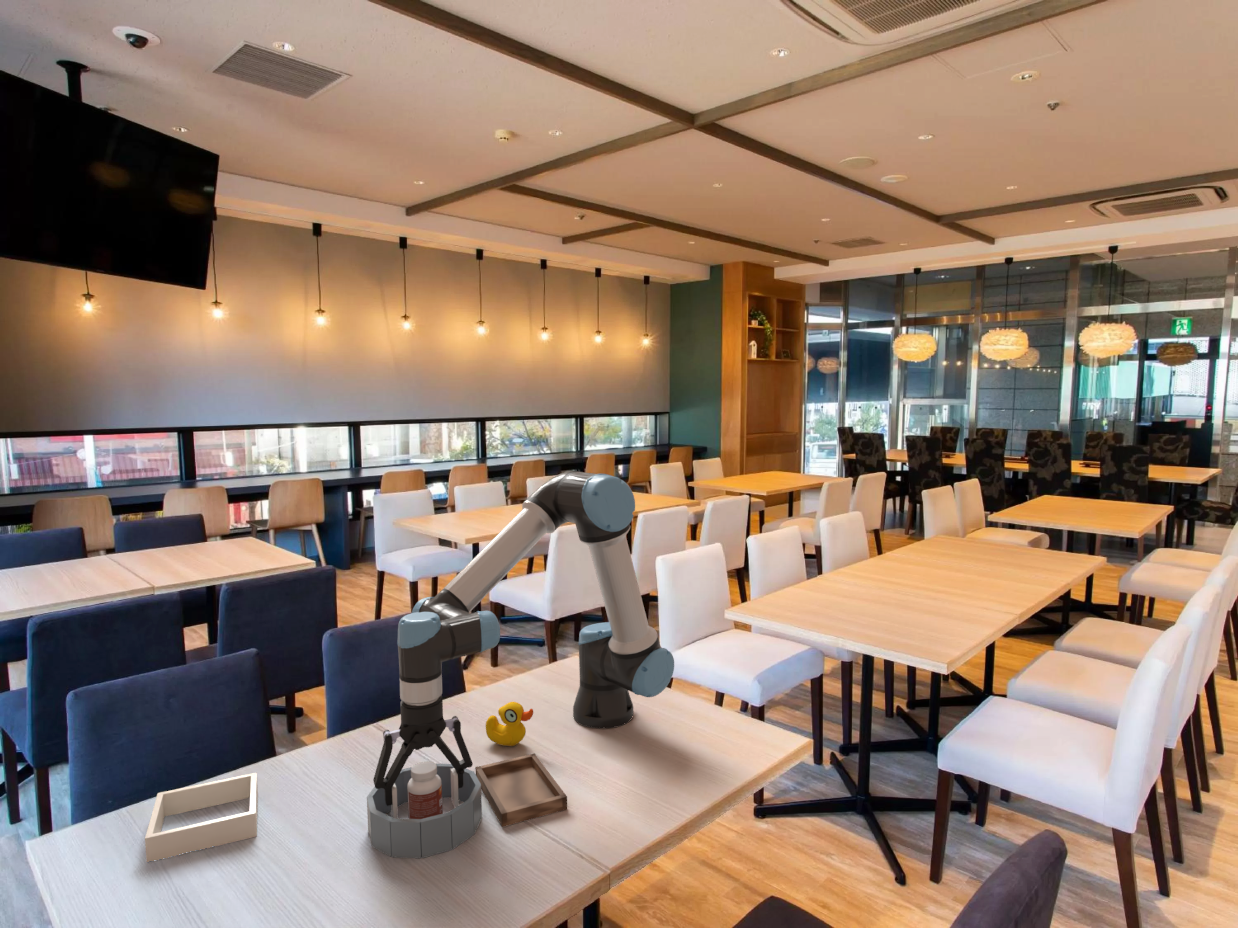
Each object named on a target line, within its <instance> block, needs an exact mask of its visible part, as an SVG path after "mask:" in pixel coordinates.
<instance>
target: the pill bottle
mask: <svg viewBox="0 0 1238 928" xmlns="http://www.w3.org/2000/svg"><path fill="white" fill-rule="evenodd" d="M436 764H437V763H435V762H434V761H421V762H418V763H417V762H416V763H415V764H414V765H413V766H411V767H412V768H411V779H410V780H409V782H408V785H407V791H408V802H407V809H408V811H407V813H408V815H407V816H408V819H423V818H427V817H431V816H435V815H439V814H443V813H444V811H443V797H442V784H441V778H440V777H439V776H438V775H437V765H436Z"/></svg>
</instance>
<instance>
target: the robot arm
mask: <svg viewBox="0 0 1238 928" xmlns="http://www.w3.org/2000/svg"><path fill="white" fill-rule="evenodd" d="M521 507H522V509H521V510H520V511H519V512H518V514H517V515H515V517H514V518H512V520H510V522H509V523H507V524H506V526H505V527H503V528H502V529H501V531H500V532H499V533H498V534H496V536H495V537H494V538H492V540H490V541H489V542H488V544H486V545H485V546H484V547H483V549H482V550H480V552H478V553H477V555H475V556H474V557H473V559H472V560H471V561H469V562H468V563H467V564H466V565H465V566H464V567H463V568H462V569H461V570H460V571H459V572H458V573H457V574H456V576H454V577H453V579H451V580H450V581H449V582H448V584H446V585H445V586H444V587H443V588H442V589H441V590H440V591H439V592H438V593H437V594H436V595H435V596H427V597H426V596H425V597H423V598H421V599H419V600H418V601H417V602H416V603H415V605H414V606H413V608H412V611H411V613H407V614H405V615H404V616H402V617H401V618H400V619H399V622H398V625H397V642H396V644H397V645H396V646H397V651H398V665H399V666H398V669H399V671H398V672H399V674H398V675H399V696H400V697H399V699H400V700H401V701H400V704H399V705H400V707H399V708H400V726H399V728H398V729H395V730H389V729H385V730H383V732H382V735H383V743H382V744H383V745H382V748H381V752H380V755H379V760H378V762H377V765H376V770H375V772H374V776H373V785H374V787H375V788H376V789H380V788H383V789H384V793H385V802H386V805H387V806H389V805H391V811H390V812H391V813H390V814H391V817H392V818H399V815H398V814H399V811H398V810H399V808H398V807H397V788H396V785H395V781H396V779H397V778H398V776H399V774H400V772H401V770H402V769H404V766H405V764H406V763H407V761H408V759H409V757H410V756H411V755H412V753H413V752H414V750H415V751H417V750H421V749H423V748H432V747H433V746H434V745H435V746H436V747H437V748H438V750H440V751H441V753H442V754H443V756H445V758H446V759H447V760H448V762H449V764H452V766H453V767H454V768H452V769H451V798H450V799H451V803H452V805H453V809H454V808H456V807H457V806H459V805H460V804H459V802H460V801H459V800H458V788H462V787H463V774H464V770H465V769H468V768H470V769H471V767H473V765H474V764H473V761H472V758H471V755H470V753H469V750H468V748H467V745H466V743H465V740H464V737H463V735H462V729H461V728H462V723H461V721H460V719H459V717H458V716H457V715H454V716H452V717H451V718H450V719H445V718H444V711H443V710H444V708H443V704H444V703H443V696H442V694H443V677H442V676H443V675H442V673H443V671H442V670H443V669H442V666H443V665H442V664H443V662H447V661H450V660H455V659H459V658H462V657H467V656H470V655H474V654H478V653H483V652H485V651H487V650H490V649H494V648H495V647H496V646H497V645H498V643H499V642H500V640H501V639H500V638H501V626H500V623H499V620H498V617H497V616H496V614H495V613H493V611H490V610H483V611H482V610H481V611H479V610H477V611H476V612H472V610H474V609H475V608H476V607H477V606H478V604H480V603H481V602H482V601H483V599H484V598H485V597H487V596H488V594H489V593H490V592H491V591H492V590H493V589H494V588H495V587H496V586H497V585H498V583H500V582H501V581H502V580H503V578H505V577H506V576H507V575H508V573H509V572H510V571H511V570H512V569H513V568H515V566H516V565H517V564H518V563H519V562H520V561H522V559H523V558H524V557H525V556H526V555H527V554H528V553H529V552H530V551H531V550H532V548H534V546H536V545H537V543H539V541H541V539H542V538H543V537H544V536H545V535H546V534H553V533H554V532H555V531H557V529H558V528H559V527H560V526H562V525H564V524H567V523H572V524H575V527H576V531H577V535H578V538H579V541H580V542H581V543H582V544H585V545H587V546H588V549H589V552H590V556H591V560H592V564H593V567H594V570H595V574H596V579H597V582H598V585H599V590H600V593H601V597H602V601H603V603H604V608H605V611H606V616H607V621H605V622H598V623H593V624H588V625H586V626H584V627H583V628H582V629H581V630H580V631H579V637H578V662H579V663H578V664H579V665H578V669H579V687H578V691H577V694H576V697H575V700H574V704H573V706H572V716H573V717H574V718H573V717H572V718H573V719H574V721H575V722H576V723H578V724H579V725H581V726H583V727H587V728H592V729H612V728H617V726H618V727H621V726H624V725H625V724H624V723H626V724H627V722H628V721H629V720H630V719H631V718H632V716H633V717H634V704H633V700H632V699H631V698H632V697H631V695H630V692H631V693H633V694H635V695H637V696H642V697H645V698H654V697H656V696H658V695H659V694H661V693H662V692H664V690H665V689H666V688H667V687H668V685H669V683H670V682H671V679H672V677H673V675H674V670H675V658H674V656H673V653H671V651H669V650H668V649H667V648H666V647H662V646H661V644H660V640H659V635H658V632H657V630H656V629H655V628H654V627H653V626H650V625H649V622H648V618H647V613H646V611H645V607H644V603H643V598H642V595H641V591H640V586H639V582H638V579H637V575H636V571H635V567H634V563H633V559H632V555H631V551H630V546H629V544H628V540H627V539H628V538H627V534H628V533H629V531H630V530H631V525H630V524H631V522H632V520H633V518H634V516H635V515H634V514H633V513H634V512H635V511H636V499H635V495H634V493H633V491H632V489H631V487H630V485H628V483H627V482H626V481H624V480H623V479H621V478H620V477H617V476H613V475H611V474H607V473H594V472H592V473H591V472H583V471H579V470H569V471H565V472H561V473H559V474H557V475H555V476H553V477H552V478H550V479H549V480H547V481H545V482H544V483H543V484H542V485H541V486H539V487H538V488H537V489H536V490H535V491H534V492H533V493H532V494H530V495H529V496H528V497H527V498H526V499H525V500H524V501H523V502H522V505H521ZM632 719H633V718H632ZM632 719H631V720H632ZM631 720H630V721H631ZM630 721H629V722H630ZM629 722H628V723H629ZM623 724H624V725H623ZM446 728H448V731H449V732H452V735H453V737H454V740H455V742H456V745H457V747H458V749H459V752H460V755H461V758H462V759H461V760H459V759H458V757H456V755H455V754H454V753H453V751H452V750H451V748H450V747H449V745H448V744H447V743H446V742H445V740H443V738H442V737H441V735H442V734H443V733H444V730H445V729H446ZM399 737H400V738H401V739H402V740H403V742H402V744H401V746H400V750H399V752H397V755H396V757H395V759H394V760H393V762H392V765H391V766H390V768H389V770H388V771H387V768H388V766H389V762H390V759H391V755H392V751H393V747H394V746H393V745H394V744H396V743H397V739H398V738H399ZM386 772H387V773H386Z"/></svg>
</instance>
